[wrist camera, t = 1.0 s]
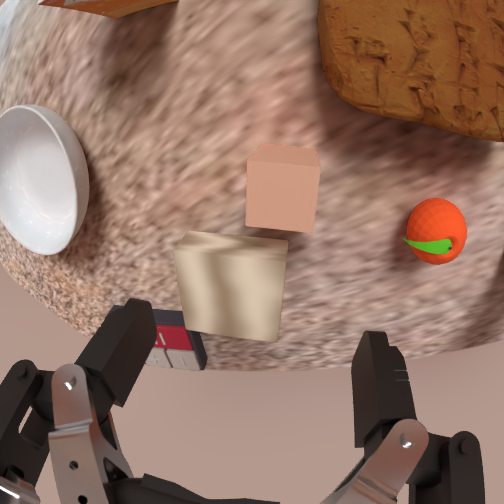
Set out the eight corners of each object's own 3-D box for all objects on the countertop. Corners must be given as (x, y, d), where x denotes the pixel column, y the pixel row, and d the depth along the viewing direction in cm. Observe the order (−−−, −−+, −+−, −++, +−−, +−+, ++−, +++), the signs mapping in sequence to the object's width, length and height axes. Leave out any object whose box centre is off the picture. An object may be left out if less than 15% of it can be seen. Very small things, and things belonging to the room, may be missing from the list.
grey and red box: (203, 374, 44) (126, 364, 46) (209, 355, 48) (134, 348, 50) (187, 327, 39) (101, 320, 41) (194, 307, 42) (113, 303, 44)
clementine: (389, 246, 31) (405, 282, 25) (390, 190, 28) (412, 216, 22) (447, 242, 29) (471, 275, 23) (453, 188, 26) (483, 213, 20)
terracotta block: (315, 148, 27) (320, 167, 21) (310, 199, 30) (312, 233, 23) (261, 143, 28) (247, 160, 21) (258, 194, 31) (245, 226, 24)
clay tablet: (497, 15, 13) (536, 7, 7) (495, 144, 22) (536, 164, 15) (313, -40, 16) (315, -76, 10) (313, 106, 25) (319, 109, 18)
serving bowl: (29, 227, 39) (3, 246, 34) (11, 110, 29) (-21, 120, 23) (118, 241, 37) (90, 268, 31) (105, 86, 26) (66, 90, 21)
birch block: (288, 238, 33) (286, 262, 29) (280, 315, 39) (277, 342, 35) (188, 229, 35) (173, 250, 31) (197, 305, 41) (185, 329, 37)
